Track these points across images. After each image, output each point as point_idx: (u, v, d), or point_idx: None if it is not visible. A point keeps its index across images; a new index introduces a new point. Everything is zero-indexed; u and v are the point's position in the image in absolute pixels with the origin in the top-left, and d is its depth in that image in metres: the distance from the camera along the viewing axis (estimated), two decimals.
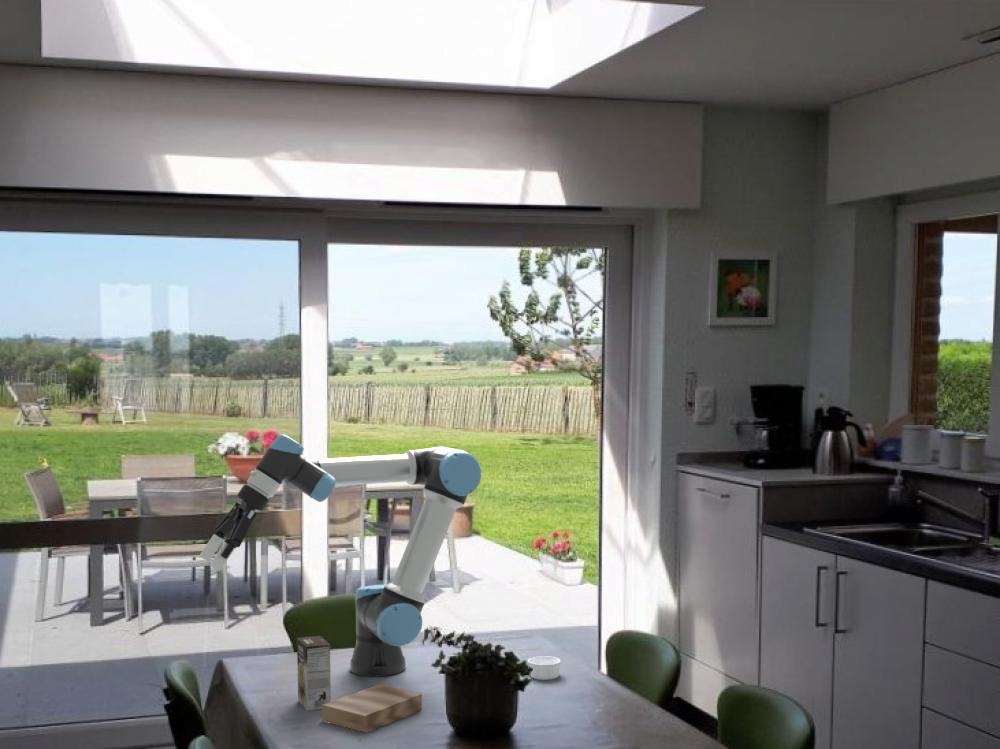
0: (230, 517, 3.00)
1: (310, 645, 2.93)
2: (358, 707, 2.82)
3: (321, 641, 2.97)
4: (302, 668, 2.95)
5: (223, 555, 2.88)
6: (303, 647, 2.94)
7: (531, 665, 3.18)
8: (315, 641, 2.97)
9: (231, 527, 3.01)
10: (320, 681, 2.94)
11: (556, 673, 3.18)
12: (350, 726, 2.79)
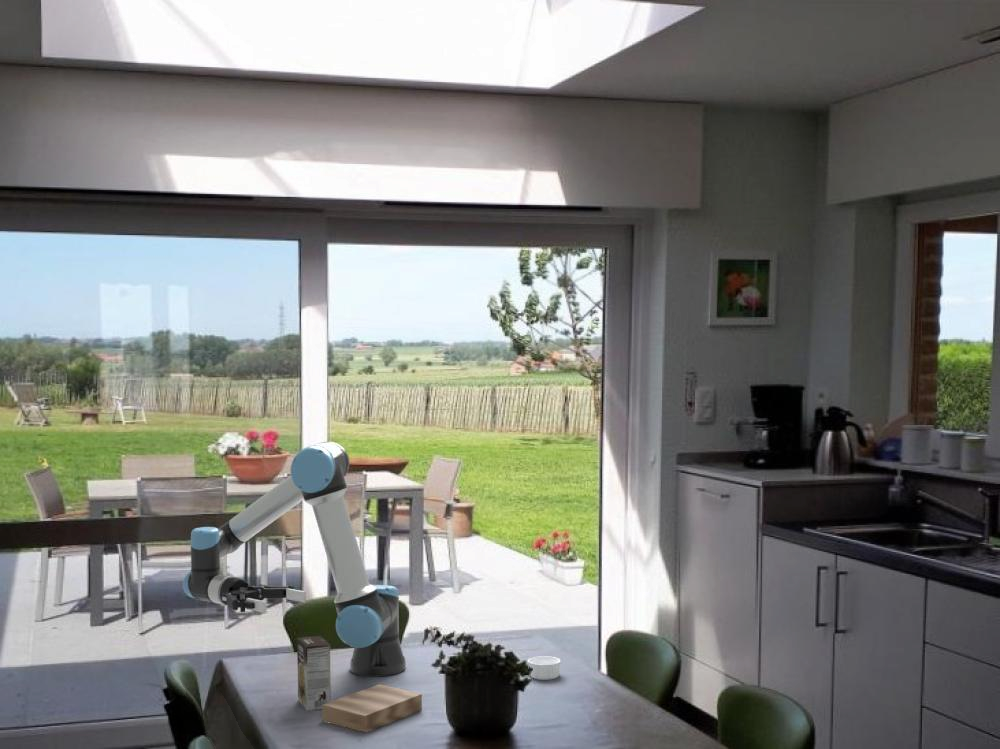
0: (261, 598, 3.12)
1: (310, 645, 2.93)
2: (358, 707, 2.82)
3: (321, 641, 2.97)
4: (302, 668, 2.95)
5: (250, 607, 2.98)
6: (303, 647, 2.94)
7: (531, 665, 3.18)
8: (315, 641, 2.97)
9: (270, 590, 3.12)
10: (320, 681, 2.94)
11: (556, 673, 3.18)
12: (350, 726, 2.79)
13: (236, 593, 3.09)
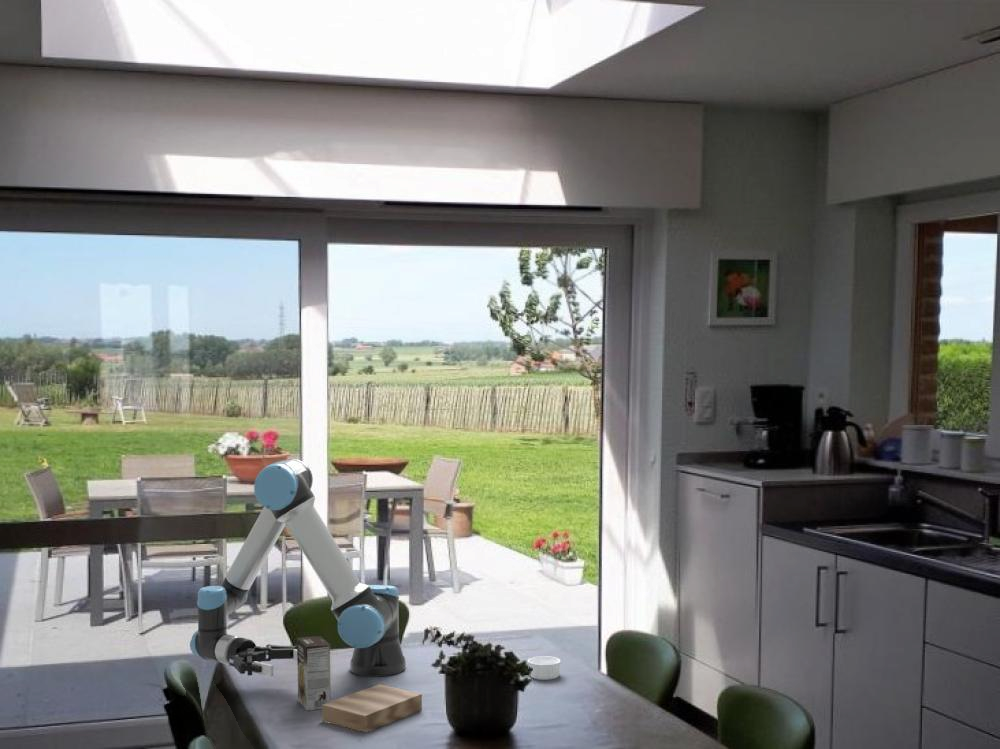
0: (268, 659, 3.11)
1: (310, 645, 2.93)
2: (358, 707, 2.82)
3: (321, 641, 2.97)
4: (302, 668, 2.95)
5: (257, 671, 2.97)
6: (303, 647, 2.94)
7: (531, 665, 3.18)
8: (315, 641, 2.97)
9: (278, 651, 3.11)
10: (320, 681, 2.94)
11: (556, 673, 3.18)
12: (350, 726, 2.79)
13: (243, 655, 3.07)
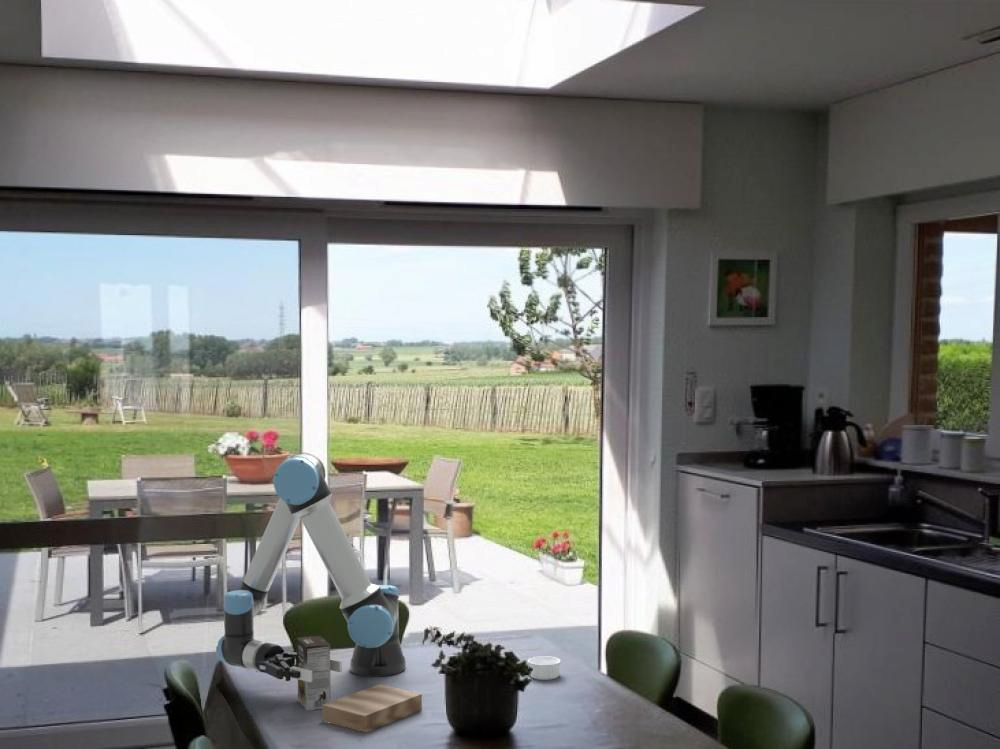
0: (296, 666, 3.05)
1: (310, 645, 2.93)
2: (358, 707, 2.82)
3: (321, 641, 2.97)
4: None
5: (296, 676, 2.92)
6: (303, 647, 2.94)
7: (531, 665, 3.18)
8: (315, 641, 2.97)
9: None
10: (320, 681, 2.94)
11: (556, 673, 3.18)
12: (350, 726, 2.79)
13: (273, 660, 3.02)
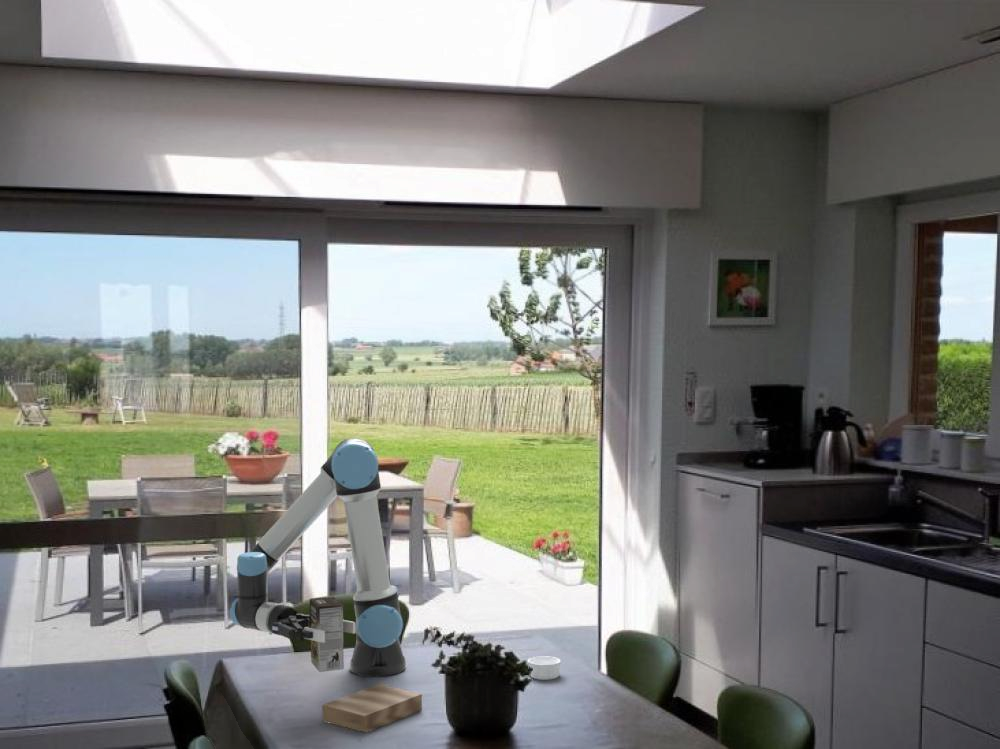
0: (309, 628, 3.00)
1: (322, 605, 2.88)
2: (358, 707, 2.82)
3: (334, 601, 2.92)
4: None
5: (308, 637, 2.87)
6: (315, 607, 2.89)
7: (531, 665, 3.18)
8: (328, 601, 2.91)
9: None
10: (333, 642, 2.89)
11: (556, 673, 3.18)
12: (350, 726, 2.79)
13: (286, 622, 2.97)
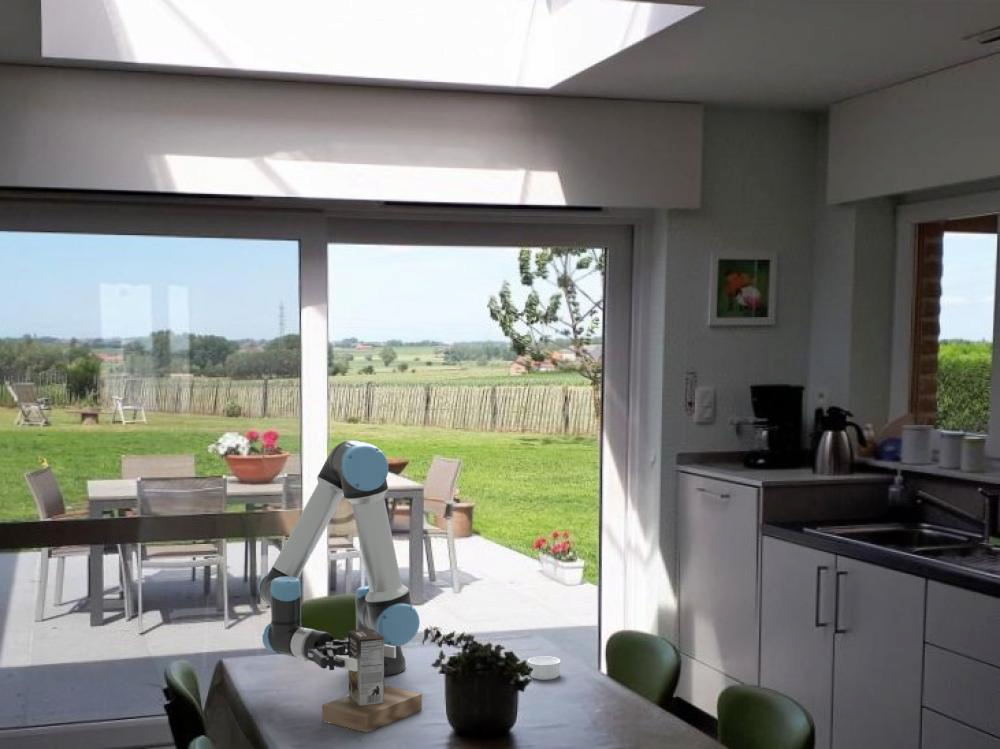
0: (347, 653, 2.96)
1: (363, 638, 2.84)
2: (358, 707, 2.82)
3: (374, 634, 2.87)
4: None
5: (340, 665, 2.82)
6: (356, 640, 2.84)
7: (531, 665, 3.18)
8: (368, 634, 2.87)
9: None
10: (374, 675, 2.84)
11: (556, 673, 3.18)
12: (350, 726, 2.79)
13: (322, 649, 2.92)
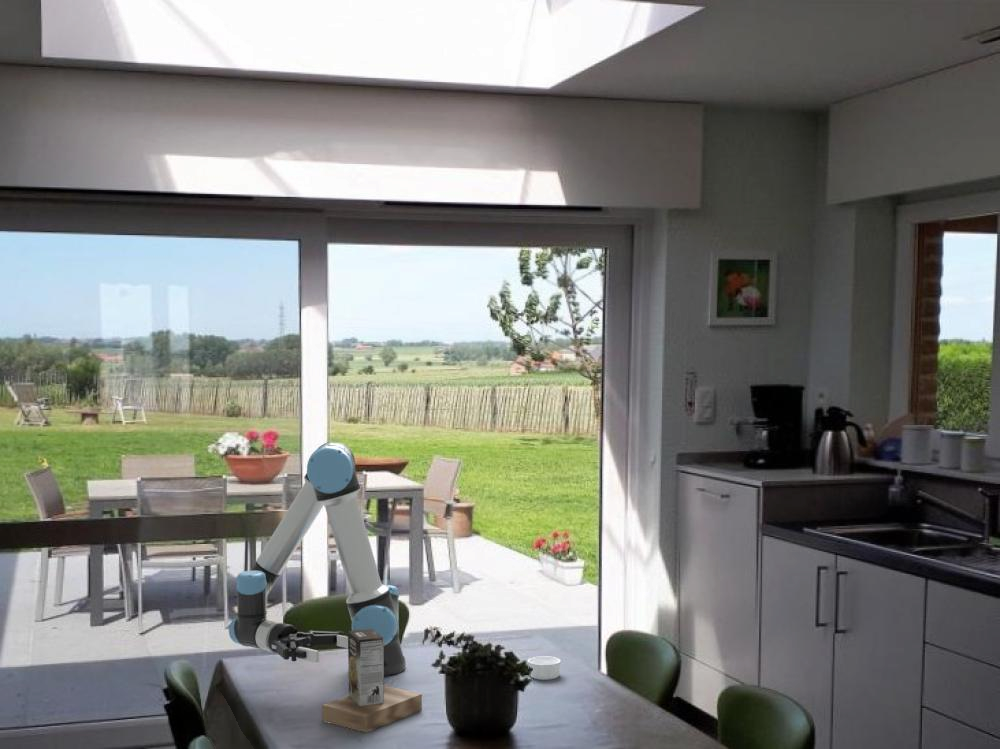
0: (310, 645, 3.03)
1: (363, 638, 2.84)
2: (358, 707, 2.82)
3: (373, 634, 2.87)
4: (354, 662, 2.85)
5: (302, 656, 2.89)
6: (356, 640, 2.84)
7: (531, 665, 3.18)
8: (367, 634, 2.87)
9: (320, 637, 3.03)
10: (374, 675, 2.84)
11: (556, 673, 3.18)
12: (350, 726, 2.79)
13: (286, 640, 3.00)
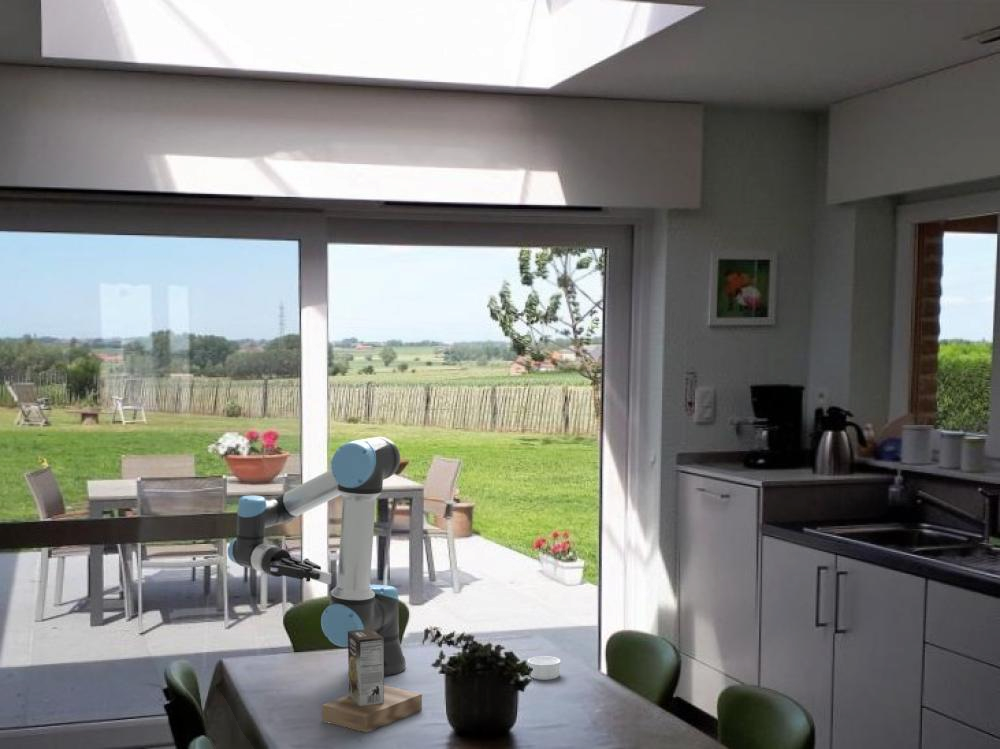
0: None
1: (363, 638, 2.84)
2: (358, 707, 2.82)
3: (373, 634, 2.87)
4: (354, 662, 2.85)
5: (315, 577, 3.08)
6: (356, 640, 2.84)
7: (531, 665, 3.18)
8: (367, 634, 2.87)
9: None
10: (374, 675, 2.84)
11: (556, 673, 3.18)
12: (350, 726, 2.79)
13: None
